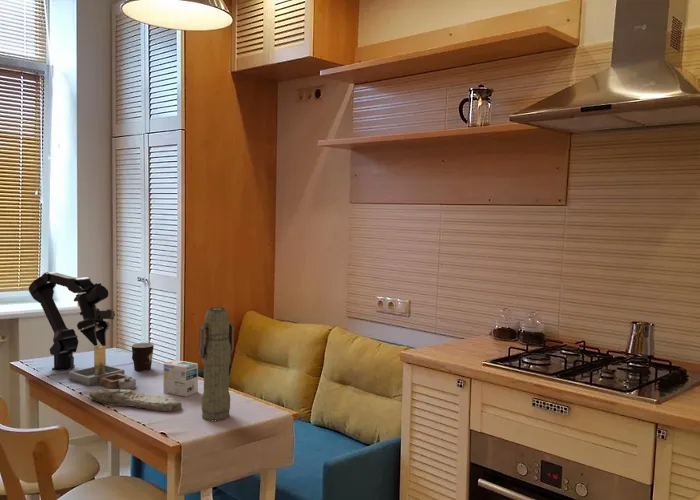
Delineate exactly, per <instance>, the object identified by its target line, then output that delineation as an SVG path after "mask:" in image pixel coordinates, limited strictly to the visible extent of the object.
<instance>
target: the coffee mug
mask: <svg viewBox="0 0 700 500" xmlns="http://www.w3.org/2000/svg"><path fill="white" fill-rule="evenodd" d="M154 347H155V344H154V343H151V342H136V343H133V344H131V351H132V352H131V353H132V355H131V359H132V363H133V369H134V371H136V372H148V371H150V370H151V369H152V362H153V354H154Z"/></svg>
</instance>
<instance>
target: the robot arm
mask: <svg viewBox="0 0 700 500" xmlns="http://www.w3.org/2000/svg"><path fill="white" fill-rule="evenodd" d="M58 285H59V286H61V287H64V288H67V290H68V291H69V292H72V293H73V294H76V295H75V297H74V298H73V301H74V302H77V303H78V307H79V310H80V312H79V315H80V316H82V319H83V320H80V321H78V322H77V324H76V327H77V330H78V331H79V332H80V333H82V335H84V336H85V338H86V339H87V340H88V341H89V343H91V344H92V346H94V347H95V346H98V342H99V343H100V346H105V347H106V346H107V343H106V342H107V341H106V340H107V339H106V338H107V337H106V335H107V331H108V330H110V327H111V325H110V323H109V321H107V320H115V316H116V313H115V311H114V310H113V309H112V308H110V309H106V310H100V308H97V304H98V303H101V302H102V301H104V300H105V299H107V298H109V290H108V289H107V288H106V286H104V285H102V283H101V282H96V283H94V282H93V281H92V280H91V278H89V277H87V276H83V277H82V276H81V277H80V276H79V277H74V276H70V275H67V274H63V273H59V272H58V271H45V272H43V274H42V275H41V276H39V277H38V278H36V279H34V280H33V281H31V283H30V285H29V286H28V292H29V294H30V296H31V298H32V299H33V300H35V301H36V302H37V303H39V304H40V307H41V308H42V310H43V313H44V315H45V316H46V319H47V321H48V323H49V325H50V327H51V329H52V331H53V338H52V339H53V340H52V341H53V344H52V345H51V346H50V348H49V355H51V356H53V367H52V368H51V370H54V371H55V370H56V371H68V370H71V369H72V368H75V367H76V365H75V363H74V362H75V357H74V356H73V354H74V353H76V352H77V350H78V345H79V339H78V337H79V336H78V335H77V334H76V331H75V330H74V328H68V327H67V326H66V323H65V322H64V319H63V316H62V314H61V313H60V311H59V308H58V306H57V305H56V302H55V300H54V298H53V297H54V294H55V291H54V288H55V287H56V286H58Z"/></svg>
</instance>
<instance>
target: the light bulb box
mask: <svg viewBox="0 0 700 500" xmlns="http://www.w3.org/2000/svg"><path fill="white" fill-rule="evenodd" d="M198 392H199V364H198V362H191V361H183V360H177V359H174V360H171V361H167V362H164V363H163V393H167V394H172V395H177V396H181V397H188V396H191V395H193V394H196V393H198Z"/></svg>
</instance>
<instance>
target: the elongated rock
mask: <svg viewBox="0 0 700 500" xmlns="http://www.w3.org/2000/svg"><path fill="white" fill-rule="evenodd" d="M88 395H89V397H90V398H91V400H93V401H96V402H99V403H101V404H107V405H109V406H120V407H129V406H132V407H133V408H134V407H135V408H136V409H147V410H150V411H156V412H177V411H180V410H181V409H182V407H183V406H182V402H181V401H179V400H177V399H176V398H171V397H165V396H160V395H151V394H145V393H143V392H138V391H136V390H134V389H131V390H130V389H129V390H128V389H127V390H123V389H119V388H117V389H116V388H113V389H112V388H109V389H108V388H104V389H102V388H100V389H99V388H97V389H94V390H91V391H90V392H89V394H88Z"/></svg>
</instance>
